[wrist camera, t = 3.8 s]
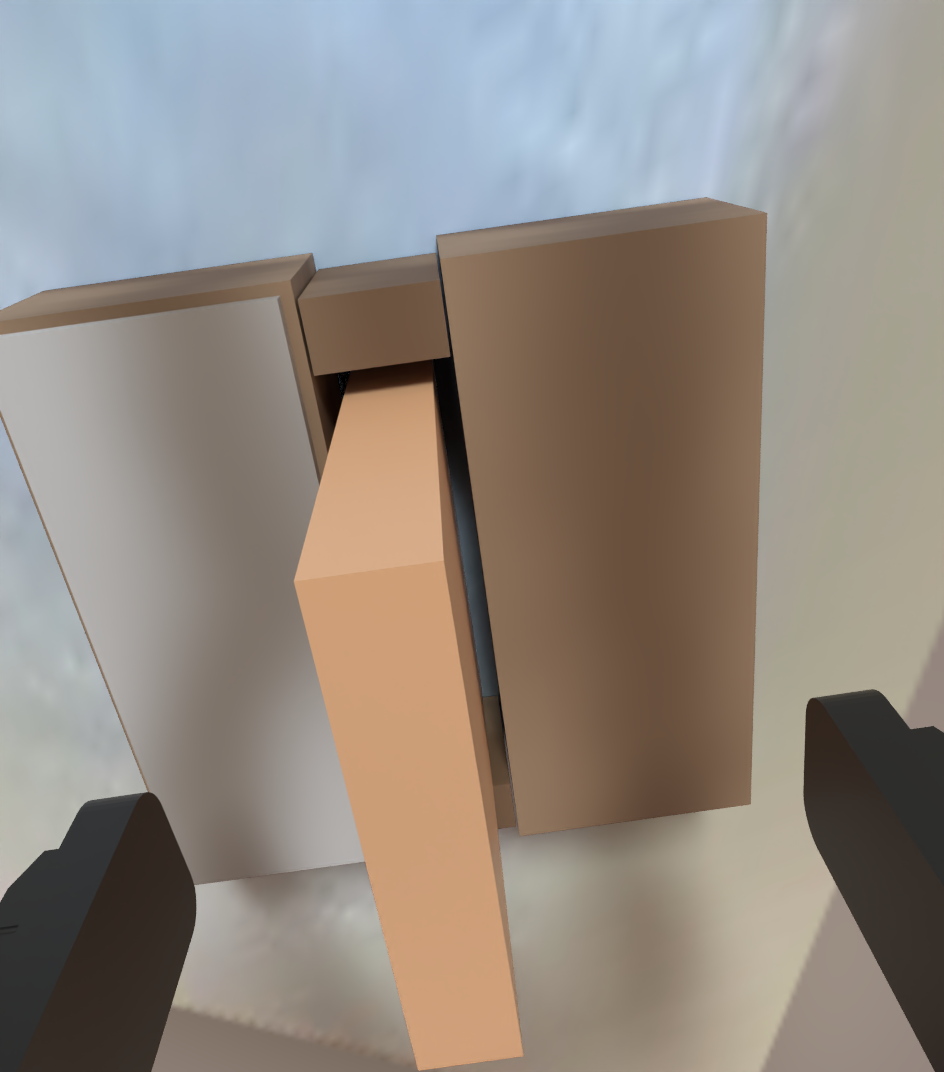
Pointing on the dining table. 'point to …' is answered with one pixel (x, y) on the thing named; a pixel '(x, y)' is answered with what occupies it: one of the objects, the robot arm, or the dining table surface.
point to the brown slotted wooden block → (498, 497)
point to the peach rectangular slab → (411, 712)
